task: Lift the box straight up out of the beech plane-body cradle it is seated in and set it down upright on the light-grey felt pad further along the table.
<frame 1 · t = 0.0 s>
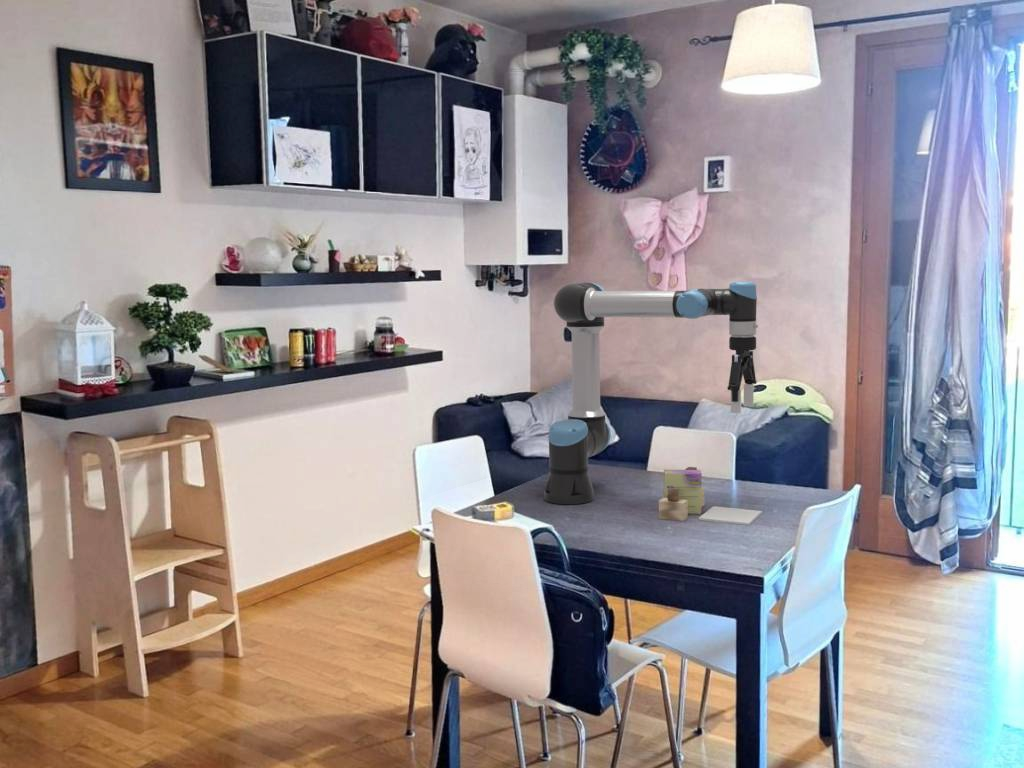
hand: (742, 409, 285), 28 cm above the table, fingers open, 13 cm apart
box: (682, 512, 283), on the table
pad: (730, 516, 276), on the table
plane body: (682, 511, 283), on the table
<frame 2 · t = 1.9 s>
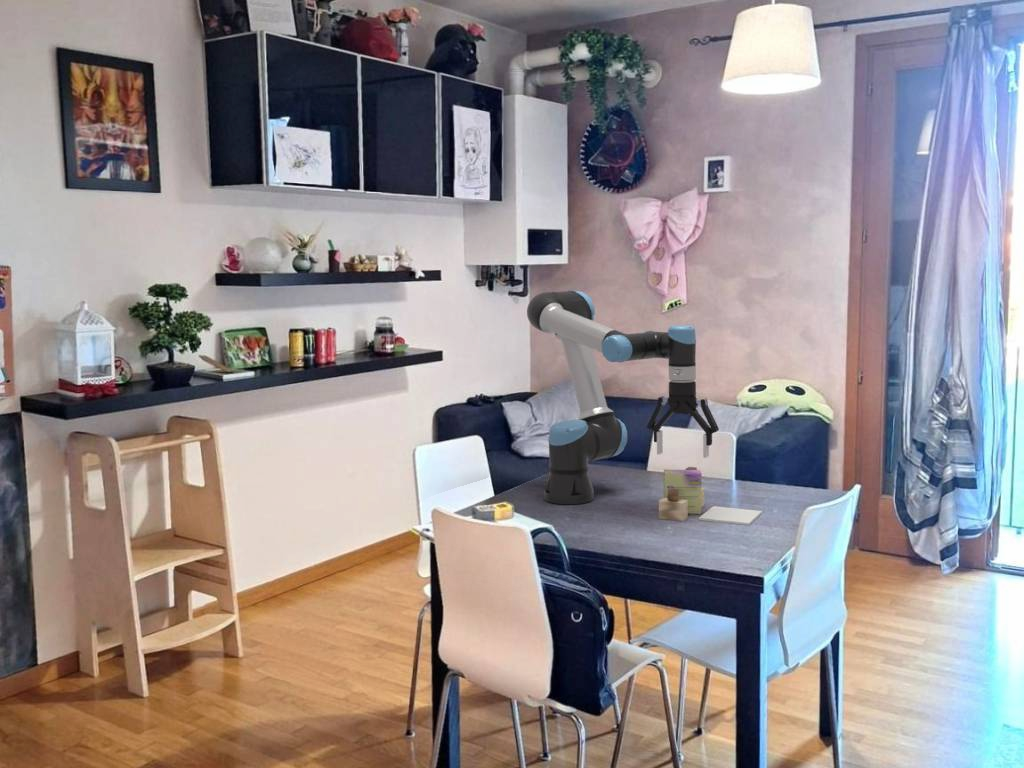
hand: (682, 455, 280), 16 cm above the table, fingers open, 13 cm apart
nothing on the table moved.
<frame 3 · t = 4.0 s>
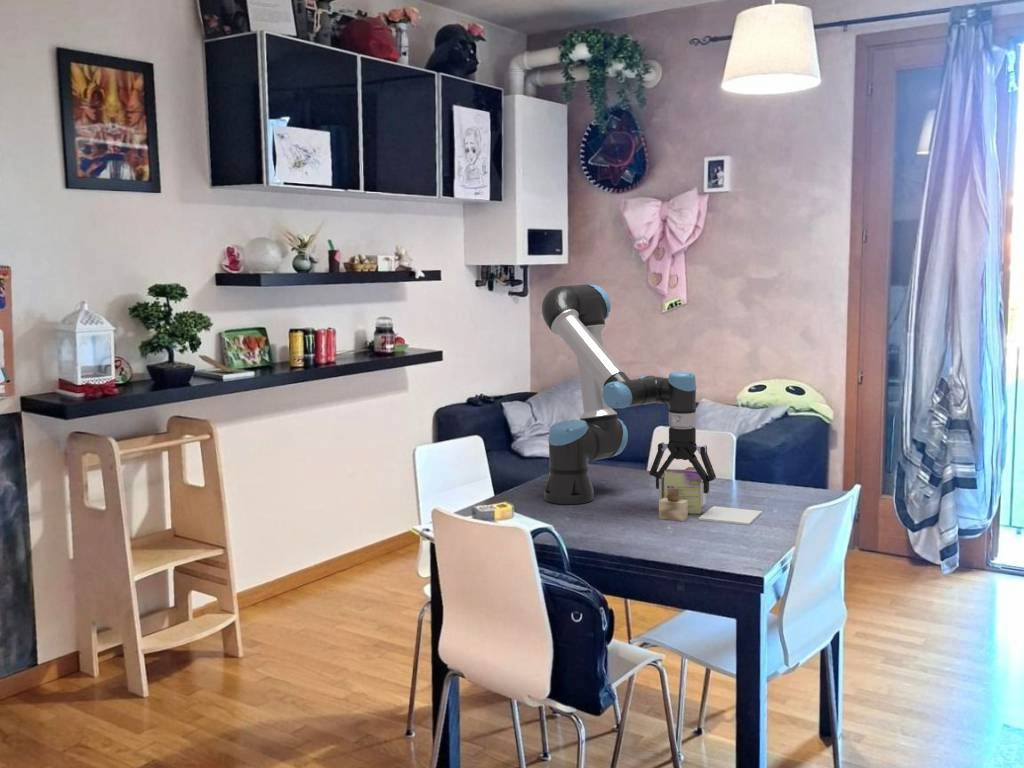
hand: (682, 502, 282), 3 cm above the table, fingers closed on box, 11 cm apart
box: (682, 512, 283), on the table, touching gripper
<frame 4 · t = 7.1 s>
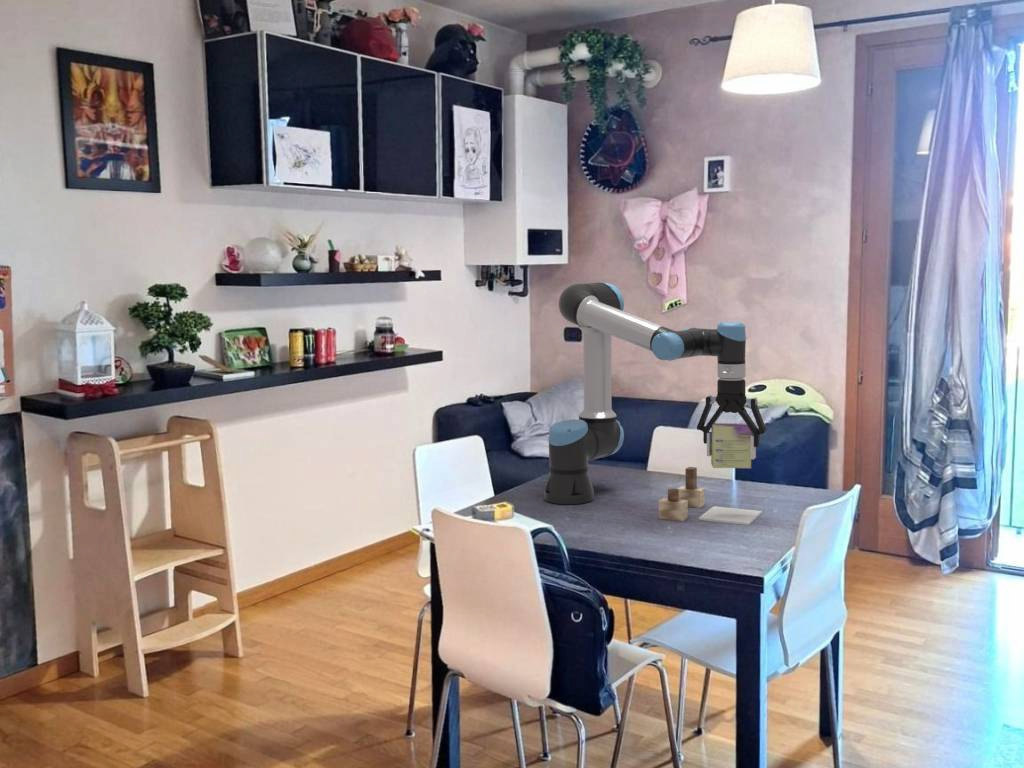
hand: (731, 457, 274), 17 cm above the table, fingers closed on box, 11 cm apart
box: (730, 467, 274), point 14 cm above the table, touching gripper
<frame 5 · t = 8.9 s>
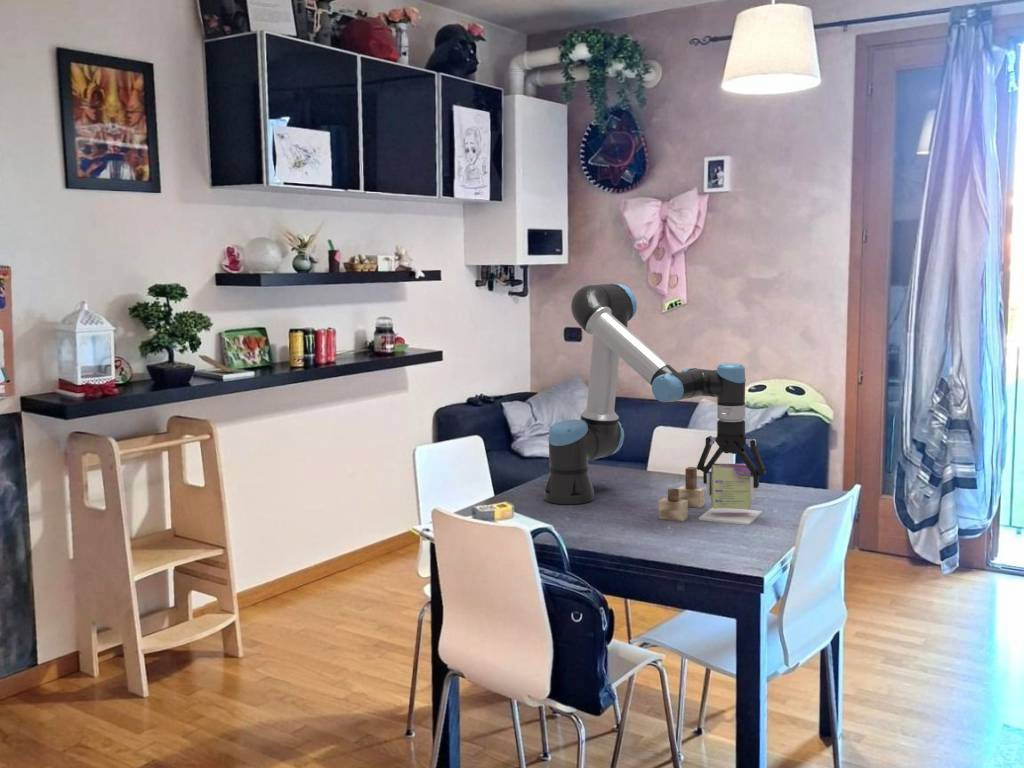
hand: (730, 497, 275), 6 cm above the table, fingers closed on box, 11 cm apart
box: (730, 507, 276), point 3 cm above the table, touching gripper
when the fingers open (5 cm above the table, at t = 10.2 s): box drops 1 cm, resting on pad.
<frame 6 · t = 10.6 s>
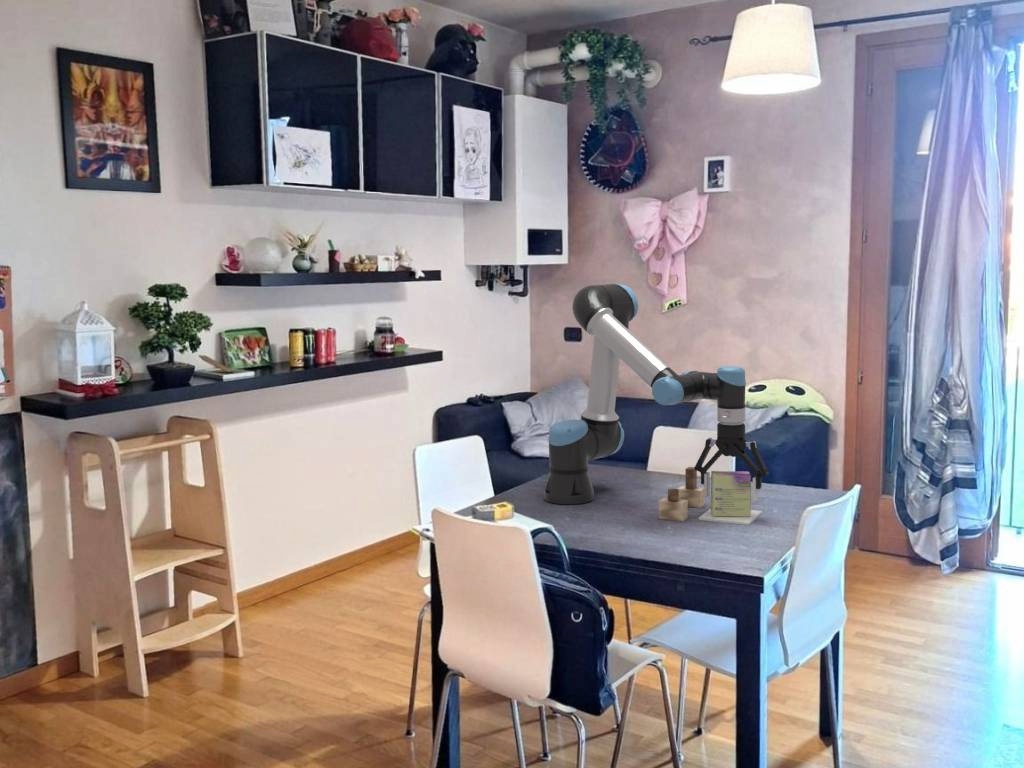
hand: (730, 498, 275), 5 cm above the table, fingers open, 13 cm apart
box: (730, 515, 276), resting on pad
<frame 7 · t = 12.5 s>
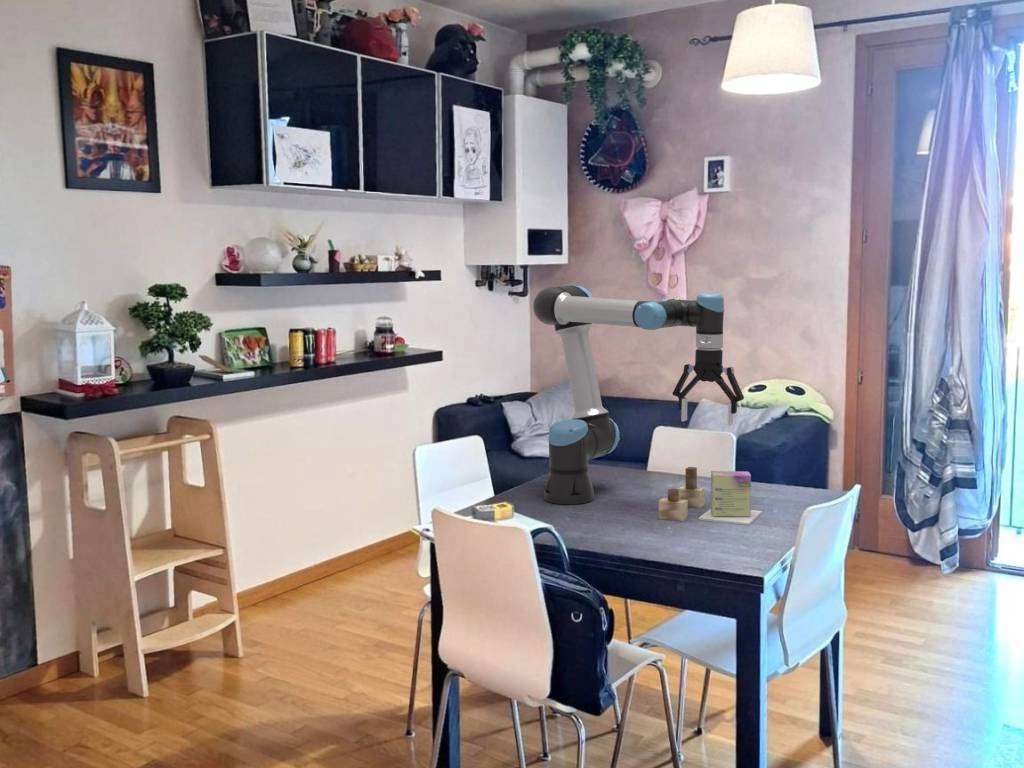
hand: (706, 422, 283), 25 cm above the table, fingers open, 13 cm apart
nothing on the table moved.
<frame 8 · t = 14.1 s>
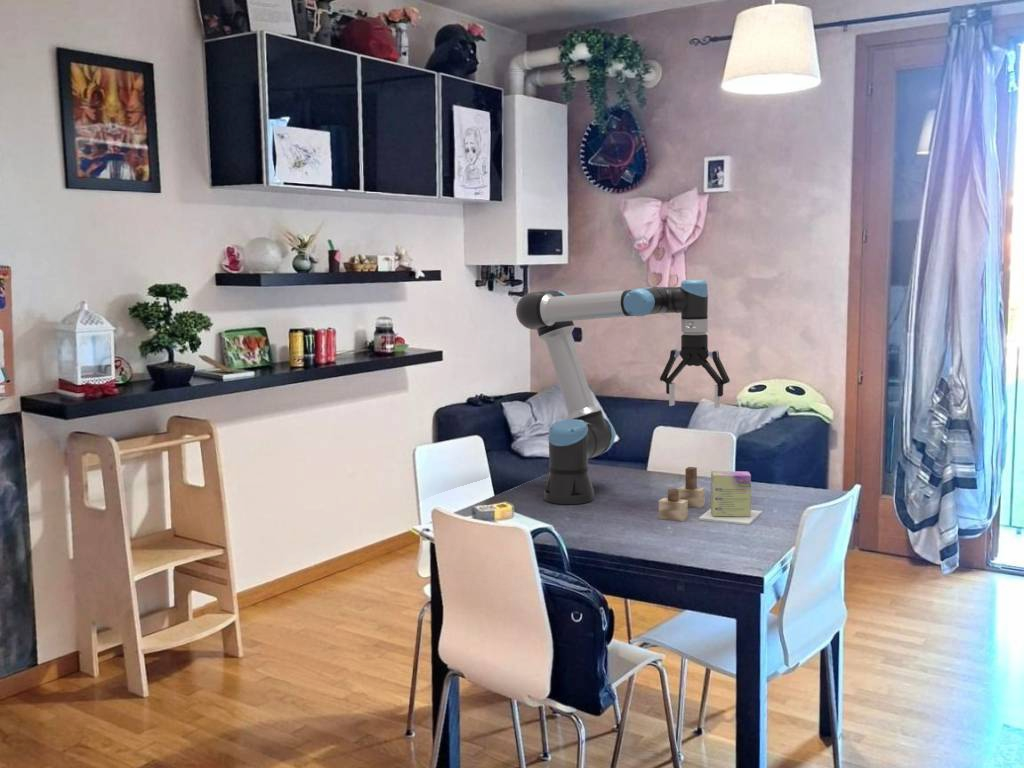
hand: (694, 406, 289), 29 cm above the table, fingers open, 13 cm apart
nothing on the table moved.
at the end: box inside the target area on the pad (0.1 cm from its centre), point 0.4 cm above the pad's base; box tilted 0°; the gripper is holding nothing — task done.
